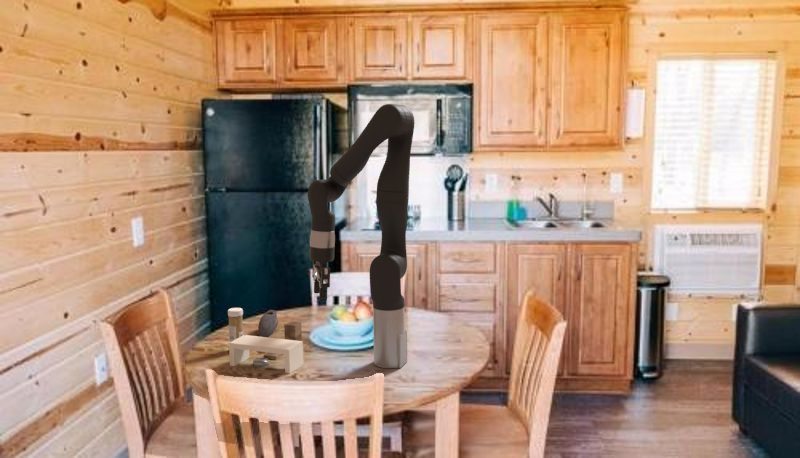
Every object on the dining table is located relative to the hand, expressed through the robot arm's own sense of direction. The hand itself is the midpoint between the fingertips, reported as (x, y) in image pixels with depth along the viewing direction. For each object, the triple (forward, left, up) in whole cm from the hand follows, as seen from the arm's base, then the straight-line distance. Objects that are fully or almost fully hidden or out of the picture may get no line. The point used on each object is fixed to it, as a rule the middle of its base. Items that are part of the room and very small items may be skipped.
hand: (320, 296), depth 194 cm
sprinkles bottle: (+26, +7, -18) cm, 33 cm away
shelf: (+10, +16, -18) cm, 26 cm away
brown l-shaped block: (+12, +2, -18) cm, 22 cm away
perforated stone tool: (+26, -11, -18) cm, 34 cm away
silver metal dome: (+12, +16, -18) cm, 27 cm away
